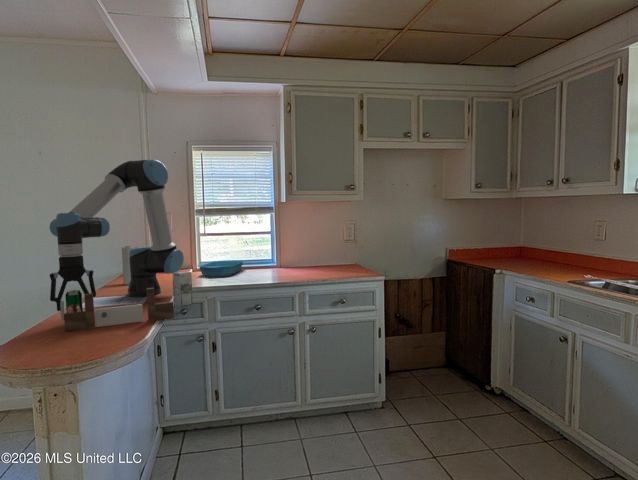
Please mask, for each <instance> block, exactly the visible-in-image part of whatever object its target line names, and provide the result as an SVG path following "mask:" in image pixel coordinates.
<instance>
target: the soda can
mask: <svg viewBox="0 0 638 480" xmlns="http://www.w3.org/2000/svg"><path fill="white" fill-rule="evenodd" d="M82 294H83V293H82V292H81V289H72V290H67V291H66V293H65V294H64V295H65V307H66V308H65V309H66V313H73V312H82V311H84V310H83V307H84V306H83V296H82Z"/></svg>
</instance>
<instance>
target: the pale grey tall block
mask: <svg viewBox="0 0 638 480" xmlns="http://www.w3.org/2000/svg"><path fill="white" fill-rule="evenodd" d="M136 248H138V246H130V245H128V246H121V258H122V259H121V263H122V275H123V277H122V279H123V285H124V286H126V285H127V286H129V284H130V280H131V275H130V262H129V252H130V250H131V249H136Z"/></svg>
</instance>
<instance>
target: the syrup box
mask: <svg viewBox="0 0 638 480" xmlns="http://www.w3.org/2000/svg"><path fill="white" fill-rule="evenodd" d="M192 276H193V275H192V271H190V270H189V271H188V270H181V271H180V270H179V271H178V272H173V273H172V291H173V306H175V307H180V308H182V307H188V306H192V305H193V278H192Z"/></svg>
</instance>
